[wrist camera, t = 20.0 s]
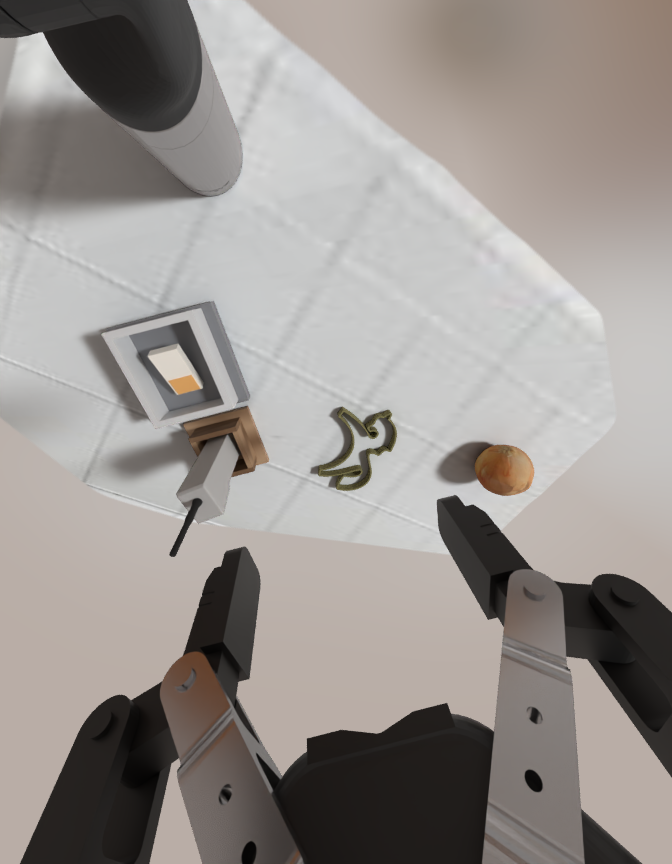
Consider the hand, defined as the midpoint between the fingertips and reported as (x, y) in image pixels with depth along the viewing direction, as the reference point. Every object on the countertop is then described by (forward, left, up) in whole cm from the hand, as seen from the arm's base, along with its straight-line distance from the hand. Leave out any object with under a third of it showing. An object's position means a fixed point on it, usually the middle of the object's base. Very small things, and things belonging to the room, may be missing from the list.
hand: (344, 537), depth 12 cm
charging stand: (+11, -18, -40) cm, 45 cm away
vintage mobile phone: (+11, -18, -39) cm, 44 cm away
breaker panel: (-3, -19, -40) cm, 44 cm away
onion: (+29, +30, -40) cm, 58 cm away
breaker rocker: (-3, -19, -36) cm, 41 cm away
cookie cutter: (+20, +4, -40) cm, 45 cm away
